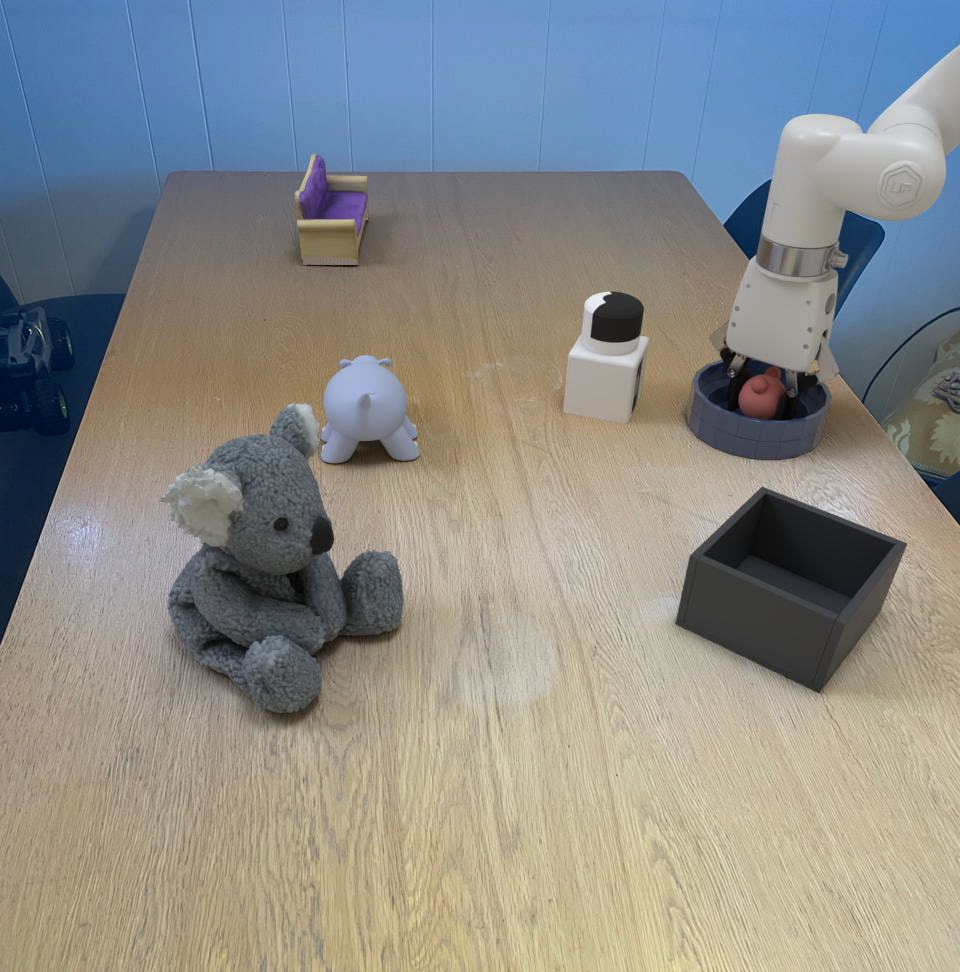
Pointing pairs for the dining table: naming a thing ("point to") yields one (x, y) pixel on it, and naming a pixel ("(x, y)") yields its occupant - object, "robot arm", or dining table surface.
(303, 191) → the toy sofa
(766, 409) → the plush toy
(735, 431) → the bowl
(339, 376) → the hippopotamus toy
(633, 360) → the container
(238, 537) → the koala plush
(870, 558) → the bin
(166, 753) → the dining table surface
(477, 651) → the dining table surface
